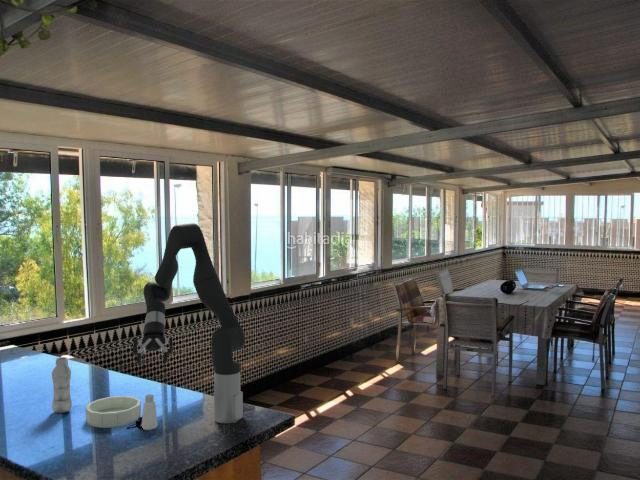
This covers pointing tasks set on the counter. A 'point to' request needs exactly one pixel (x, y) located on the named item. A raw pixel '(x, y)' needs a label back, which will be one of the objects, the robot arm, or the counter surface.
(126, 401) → the bowl
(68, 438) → the counter surface
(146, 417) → the salt shaker
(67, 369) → the plastic bottle
